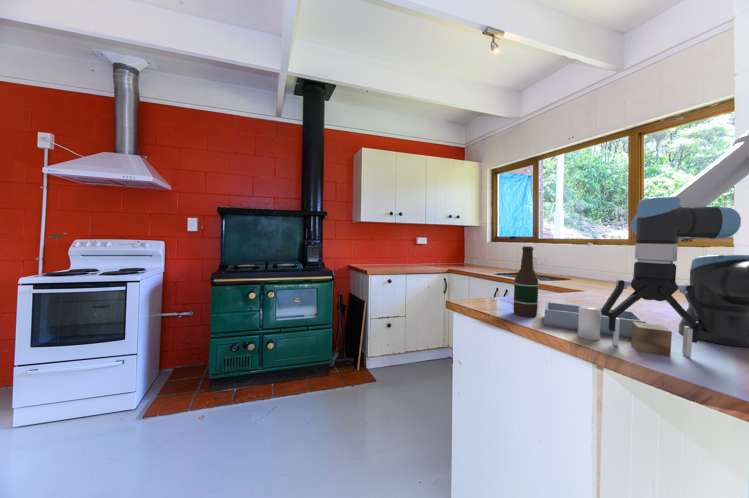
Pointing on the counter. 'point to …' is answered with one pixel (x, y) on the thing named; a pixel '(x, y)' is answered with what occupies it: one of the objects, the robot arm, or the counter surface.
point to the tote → (569, 316)
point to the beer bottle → (526, 286)
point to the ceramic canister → (589, 323)
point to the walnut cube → (651, 338)
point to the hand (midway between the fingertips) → (649, 349)
